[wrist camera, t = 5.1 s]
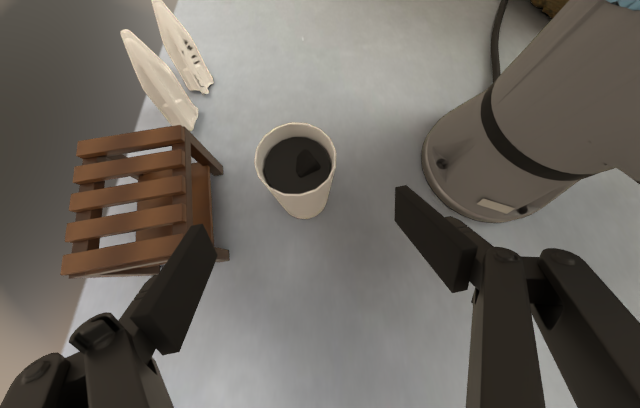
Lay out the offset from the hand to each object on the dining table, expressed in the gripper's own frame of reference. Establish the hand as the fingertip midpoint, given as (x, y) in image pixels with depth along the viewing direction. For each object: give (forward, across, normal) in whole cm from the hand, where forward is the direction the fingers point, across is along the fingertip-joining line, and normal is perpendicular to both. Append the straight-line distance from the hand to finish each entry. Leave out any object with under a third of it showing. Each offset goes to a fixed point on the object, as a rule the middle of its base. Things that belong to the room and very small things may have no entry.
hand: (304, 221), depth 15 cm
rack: (+12, -14, -4) cm, 19 cm away
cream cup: (+12, 0, -4) cm, 13 cm away
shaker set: (+24, -13, +8) cm, 28 cm away
